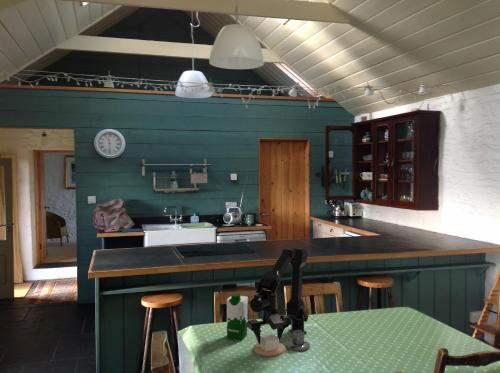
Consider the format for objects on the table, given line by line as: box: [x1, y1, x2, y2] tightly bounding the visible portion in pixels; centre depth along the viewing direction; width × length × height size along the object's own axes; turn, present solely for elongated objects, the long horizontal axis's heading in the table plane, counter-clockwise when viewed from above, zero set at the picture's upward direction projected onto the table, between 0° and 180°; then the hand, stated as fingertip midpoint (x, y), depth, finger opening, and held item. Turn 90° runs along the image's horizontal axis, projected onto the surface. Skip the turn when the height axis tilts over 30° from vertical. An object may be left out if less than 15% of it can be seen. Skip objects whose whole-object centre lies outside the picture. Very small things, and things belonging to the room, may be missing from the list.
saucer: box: [253, 342, 286, 358], centre depth 183 cm, size 13×13×1 cm
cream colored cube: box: [260, 333, 280, 351], centre depth 183 cm, size 6×6×4 cm
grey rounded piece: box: [285, 330, 311, 352], centre depth 186 cm, size 10×10×6 cm
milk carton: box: [226, 293, 249, 342], centre depth 196 cm, size 9×9×20 cm
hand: (269, 342), depth 183 cm, fingers open, 9 cm apart
